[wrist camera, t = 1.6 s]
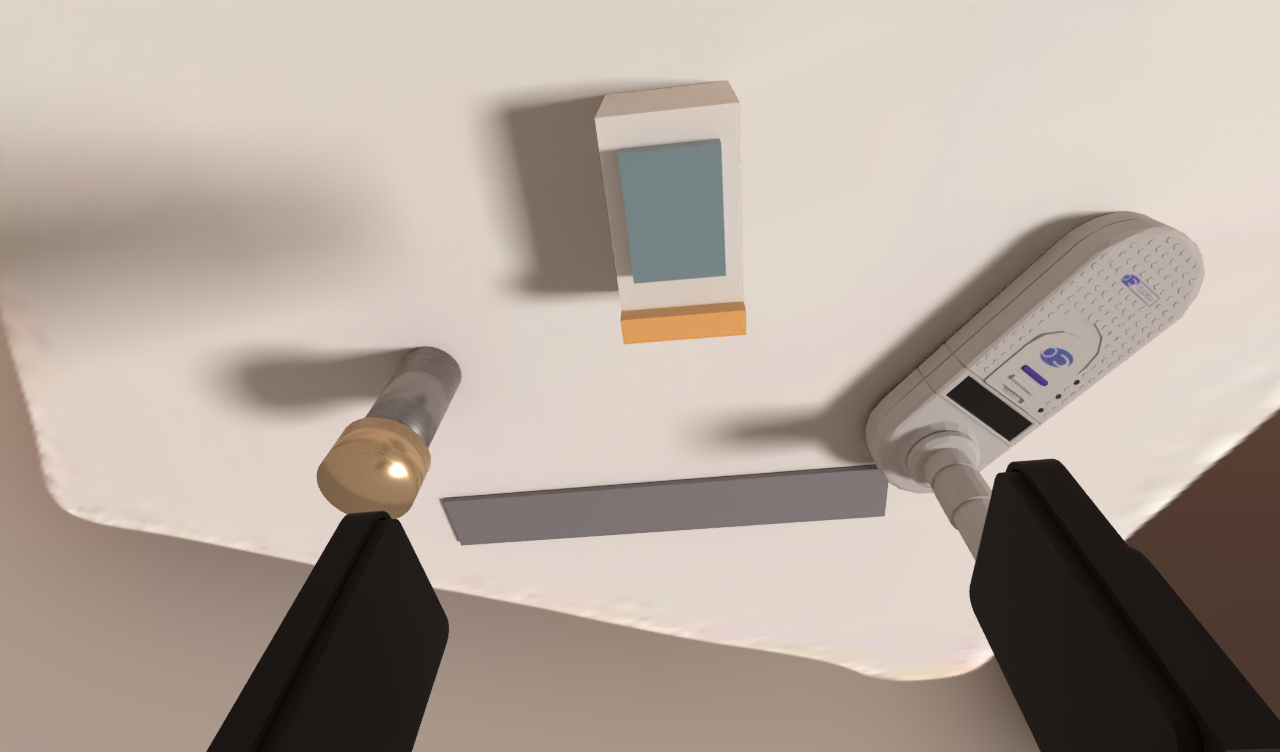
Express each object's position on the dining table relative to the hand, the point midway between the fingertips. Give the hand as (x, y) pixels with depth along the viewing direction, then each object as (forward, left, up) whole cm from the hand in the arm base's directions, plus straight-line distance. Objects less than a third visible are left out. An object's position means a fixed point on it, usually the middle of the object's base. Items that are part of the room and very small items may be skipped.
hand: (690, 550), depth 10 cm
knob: (+7, -12, -18) cm, 23 cm away
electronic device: (+9, +14, -18) cm, 25 cm away
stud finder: (0, 0, -18) cm, 18 cm away
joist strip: (+17, -2, -18) cm, 25 cm away
